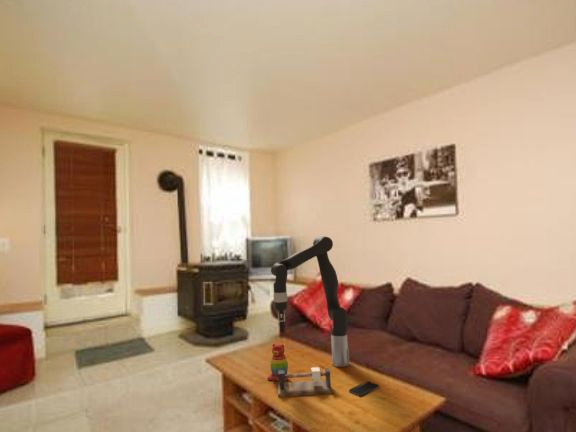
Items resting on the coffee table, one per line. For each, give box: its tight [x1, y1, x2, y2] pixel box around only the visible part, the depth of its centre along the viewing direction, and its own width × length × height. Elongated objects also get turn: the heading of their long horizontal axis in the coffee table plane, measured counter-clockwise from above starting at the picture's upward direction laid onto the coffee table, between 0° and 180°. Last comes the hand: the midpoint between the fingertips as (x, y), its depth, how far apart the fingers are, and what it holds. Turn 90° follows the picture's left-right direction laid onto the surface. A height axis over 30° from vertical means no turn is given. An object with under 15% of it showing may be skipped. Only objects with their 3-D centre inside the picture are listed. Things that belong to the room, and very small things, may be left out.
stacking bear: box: [266, 343, 289, 382], centre depth 188 cm, size 11×10×18 cm
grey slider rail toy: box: [277, 367, 333, 398], centre depth 173 cm, size 26×12×9 cm, turn 93°
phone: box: [348, 381, 380, 398], centre depth 170 cm, size 8×1×15 cm
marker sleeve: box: [310, 366, 322, 382], centre depth 173 cm, size 4×5×5 cm
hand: (282, 330), depth 191 cm, fingers open, 8 cm apart
